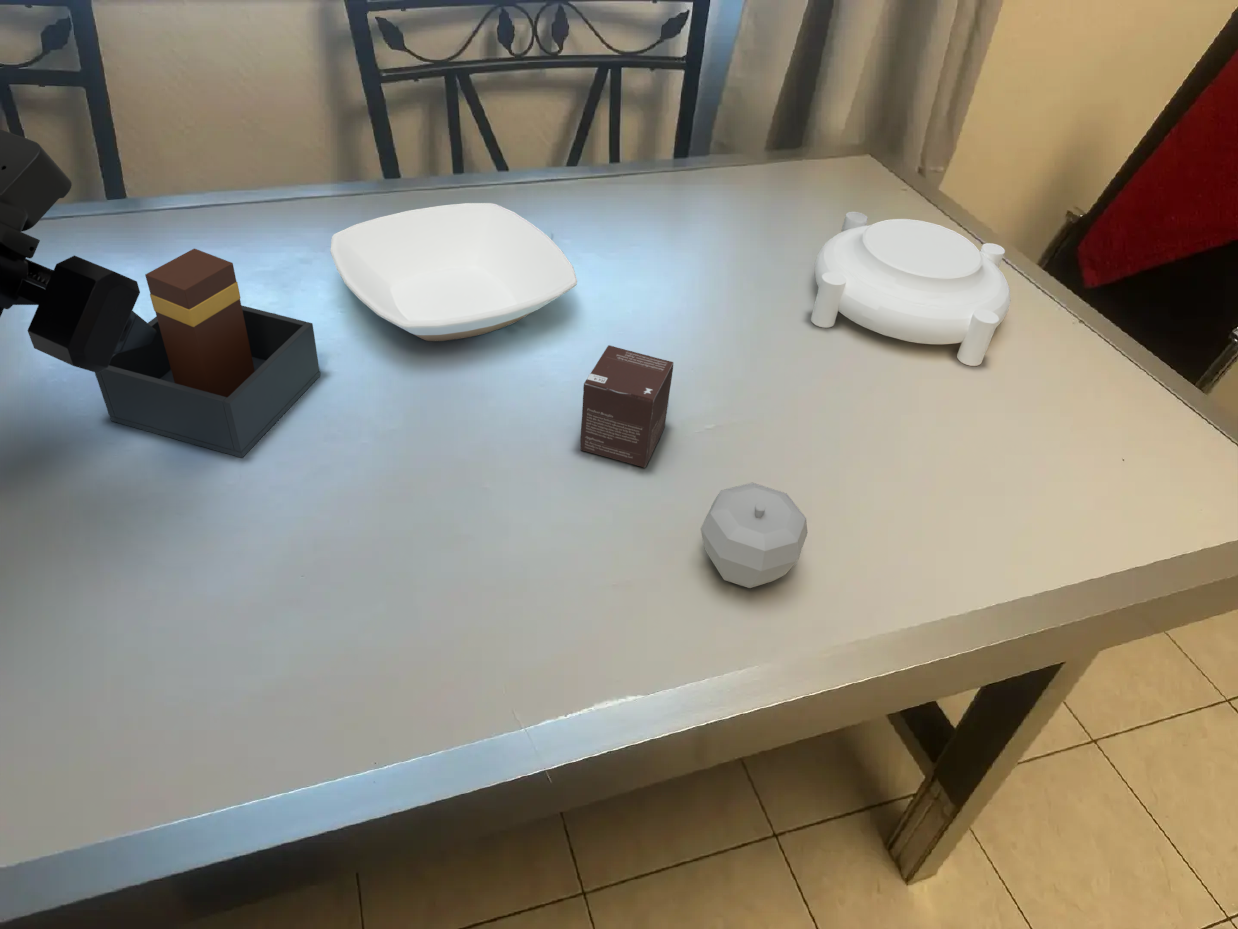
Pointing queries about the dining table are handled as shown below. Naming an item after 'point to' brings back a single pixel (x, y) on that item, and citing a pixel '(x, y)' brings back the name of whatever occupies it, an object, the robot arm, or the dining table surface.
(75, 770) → the dining table surface
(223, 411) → the open storage bin
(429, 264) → the bowl
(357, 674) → the dining table surface
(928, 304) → the round stand with pegs
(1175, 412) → the dining table surface
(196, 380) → the chocolate carton
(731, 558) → the apple
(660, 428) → the box
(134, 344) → the robot arm
